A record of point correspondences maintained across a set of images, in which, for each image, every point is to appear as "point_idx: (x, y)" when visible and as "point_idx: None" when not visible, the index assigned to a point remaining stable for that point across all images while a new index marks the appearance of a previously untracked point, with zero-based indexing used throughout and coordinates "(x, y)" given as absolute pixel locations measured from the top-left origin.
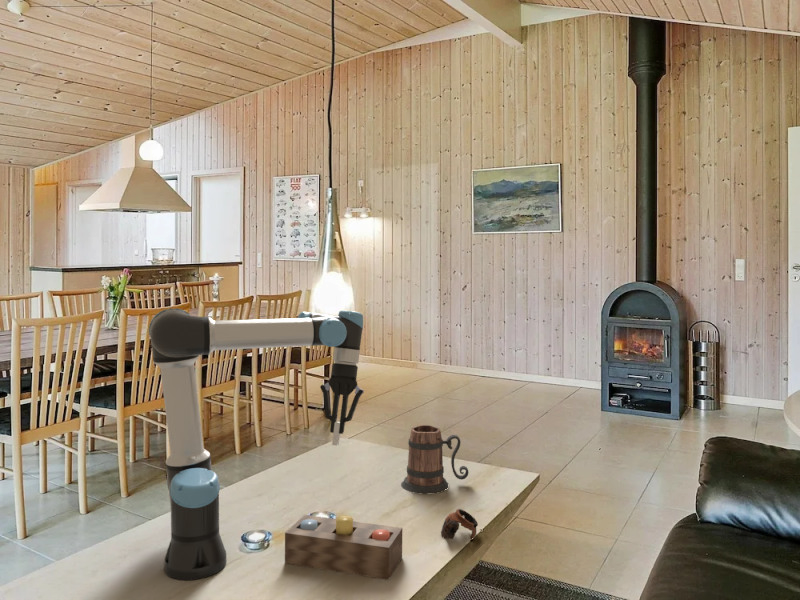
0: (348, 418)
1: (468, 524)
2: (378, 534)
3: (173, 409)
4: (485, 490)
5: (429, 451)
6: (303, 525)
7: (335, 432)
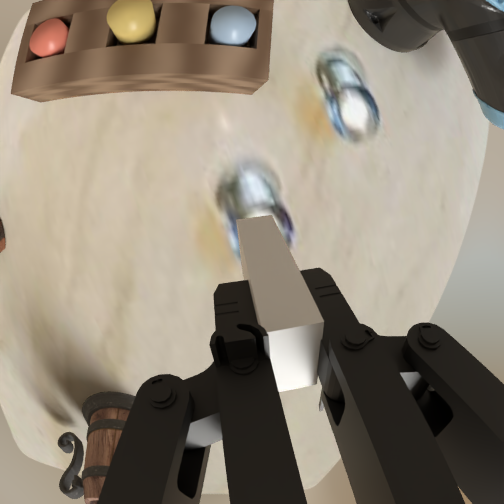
0: (157, 398)
1: None
2: (50, 26)
3: None
4: (35, 413)
5: (93, 463)
6: (241, 7)
7: (275, 261)
